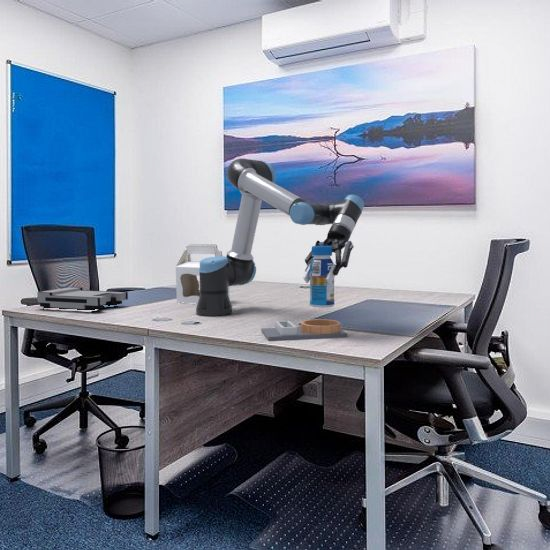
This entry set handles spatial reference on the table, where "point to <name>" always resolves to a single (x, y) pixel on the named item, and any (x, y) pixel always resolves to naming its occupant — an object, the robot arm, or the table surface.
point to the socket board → (299, 335)
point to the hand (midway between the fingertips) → (316, 281)
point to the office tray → (79, 298)
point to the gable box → (191, 272)
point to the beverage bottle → (321, 277)
